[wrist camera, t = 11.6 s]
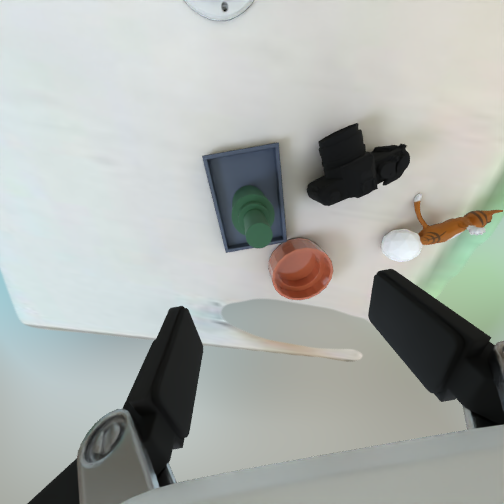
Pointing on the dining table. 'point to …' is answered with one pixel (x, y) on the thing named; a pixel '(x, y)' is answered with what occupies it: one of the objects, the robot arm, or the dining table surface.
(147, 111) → the dining table surface
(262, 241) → the bottle
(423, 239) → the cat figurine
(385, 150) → the film camera
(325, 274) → the bowl
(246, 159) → the tray
